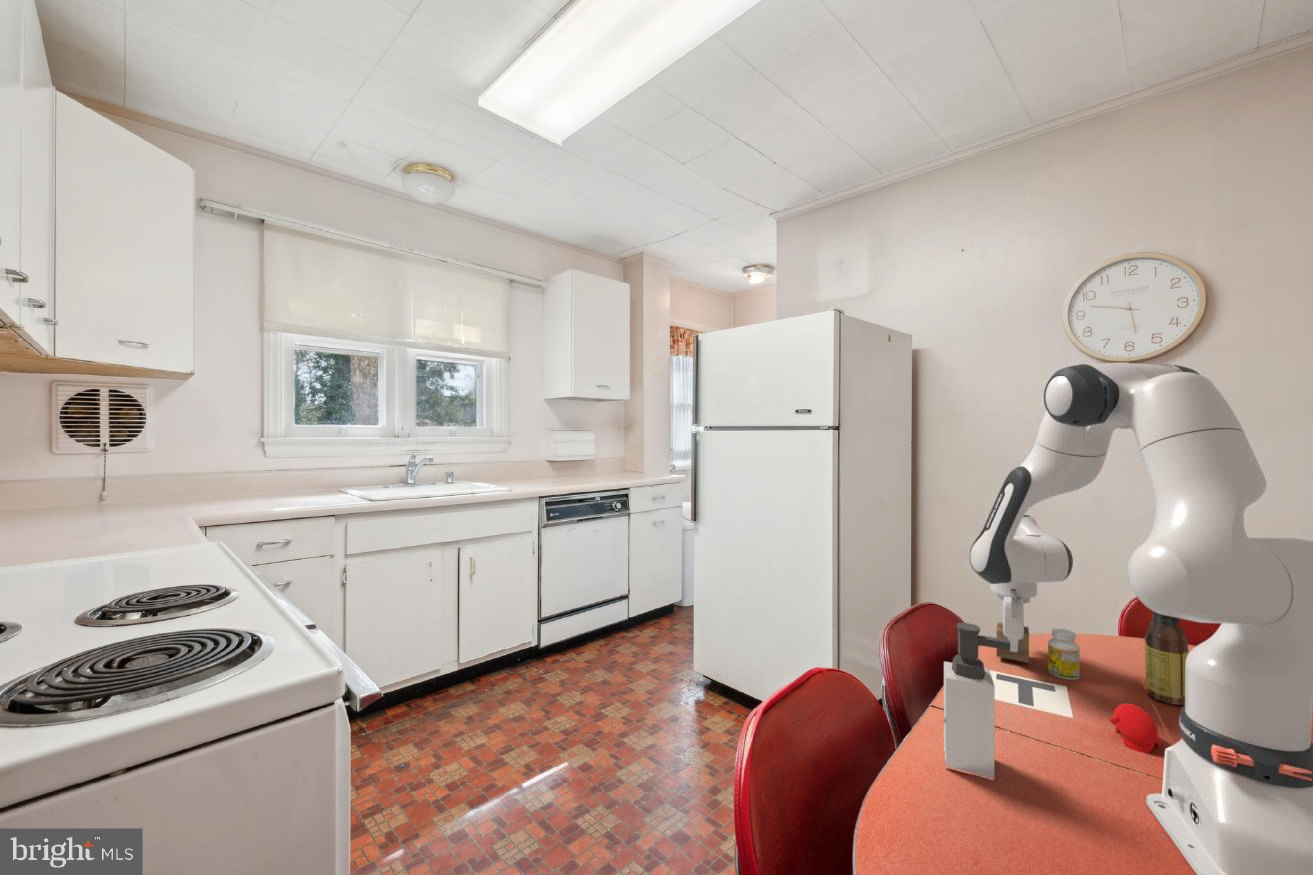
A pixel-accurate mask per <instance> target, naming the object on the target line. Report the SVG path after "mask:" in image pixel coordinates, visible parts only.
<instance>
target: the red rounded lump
mask: <svg viewBox="0 0 1313 875" xmlns="http://www.w3.org/2000/svg"><path fill="white" fill-rule="evenodd" d="M1109 721H1110V723H1111V724H1113V725H1114V726H1115V729H1114V730H1115V731H1114V732H1115V734H1121V735H1122V742H1123V744H1124V746H1125V747H1126V748H1128V749H1130V750H1133V751H1135V752H1140V753H1142V754H1149V753H1151V751H1152V750H1153V749H1154V747H1155V746H1162V745H1163V743H1164V741H1163V739H1162V738H1161V737H1160V734H1159V732H1158V727H1157V725H1156V722H1155V721H1154V719H1153V718H1152V716H1151V715H1150V714H1149V713H1148V712H1147V711H1146V710H1144V709H1143V708H1142V707H1140V706H1138V705H1135V704H1132V703H1122V704H1119V705H1118V706H1116V708H1115V709H1114V711H1113V716H1112V717H1110V718H1109Z"/></svg>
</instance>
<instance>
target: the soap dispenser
mask: <svg viewBox="0 0 1313 875" xmlns="http://www.w3.org/2000/svg"><path fill="white" fill-rule="evenodd" d="M956 629H957V653H958V654H956V655H955V656H954V657H953V658H952V662H950V661H943V750H944V751H945V755H944V763H946V766H948V767H953V768H955V769H960V770H964V771H967V772H971V773H973V774H978V775H979V776H985V777H987V778H992V779H994V780H995V734H996V733H995V729H996V728H995V727H996V726H995V715H996V714H995V713H996V712H995V711H996V710H995V707H996V706H995V703H996V702H995V701H996V700H995V686H994V683H993V680H992V676H991V673H990V670H991V669H990V668H986V667H985V665H984V662H983V661H982V660H981V659H980V658H979V657H980V656H979V655H980V654H979V646H981V647H987V648H993V649H997V648H999V649H1005V650H1010V641H1009V639H1001V638H997V637H993V636H992V637H991V636H986V635H979V634H980V632H981V628H980V627H979V625H977V624H973V623H969V622H968V623H967V622H958V623H957V624H956ZM944 751H943V752H944ZM946 766H945V767H946Z"/></svg>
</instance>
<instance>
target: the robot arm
mask: <svg viewBox="0 0 1313 875" xmlns="http://www.w3.org/2000/svg"><path fill="white" fill-rule="evenodd" d="M1043 403H1044V407H1045V409H1046V411H1045V413H1044V414H1043V418H1042V420H1041V422H1040V426H1039V428H1038V431H1037V434H1036V438H1035V442H1034V444H1033V447H1032V449H1031V451H1030V452H1029V453H1028V455H1027V457H1026V458H1025V459H1024V460H1023V461H1022V462H1021V464H1020V465H1018V466H1017V467H1016V468H1014V469H1012V470H1011V471H1010V472H1009V473H1008V474H1007V476H1006V478H1005V479H1004V481H1003V483H1002V485H1001V487H1000V489H999V492H998V493H997V496H996V499H995V500H994V503H993V506H992V507H991V509H990V512H989V514H988V516H987V519H986V521H985V524H984V525H983V528H982V530H981V531H980V532H979V534H978V536H977V537H976V538H975V540H974V541H973V543H972V545H971V548H970V549H969V550H970V551H969V562H970V566H971V568H972V569H973V571H974V572H975V573H976V574H977V575H978V576H979V577H980V578H981V579H983V580H984V581H986V582H987V583H989V584H990V590H991V591H992V592H994V593H996V598H998V599H999V600H1001V601H1002V607H1003V608H1002V623H1003V634H1004V636H1005V637H1008V639H1009V641H1010V650H1009V651H1012V652H1018V642H1019V639H1023V636H1024V626H1025V617H1024V616H1025V614H1024V612H1025V611H1024V610H1025V608H1024V606H1025V605H1024V604H1029V603H1030V602H1031V598H1035V597H1037V596H1038V583H1059V582H1063V581H1065V580H1066V579H1067V578H1069V576H1070V575H1071V572H1072V570H1073V565H1074V558H1073V554H1072V551H1071V550H1070V548H1069V547H1068V545H1066V543H1065V542H1063V541H1062V540H1061V539H1059V538H1057V537H1053V536H1051V535H1050V534H1048V533H1047V532H1046V531H1044V530H1043V529H1041V527H1039V526H1038V524H1037V522H1036V519H1035V518H1034V517H1033V516H1030V515H1029V514H1026V513H1027V511H1029V509H1030V508H1032V507H1033V506H1035V505H1036V504H1038V503H1040V502H1042V501H1045V500H1048V499H1050V498H1052V497H1056V496H1059V495H1064V494H1066V493H1071V492H1074V491H1078V490H1080V489H1082V488H1085V487H1086V486H1088V485H1090V484H1092V482H1094V481H1095V480H1096V479H1097V477H1098V475H1099V474H1100V472H1101V471H1102V470H1103V467H1104V464H1105V460H1106V457H1107V453H1108V450H1109V448H1110V443H1111V440H1112V439H1111V438H1112V436H1113V433H1114V431H1115V430H1116V429H1121V430H1122V429H1132V432H1133V433H1134V434H1133V435H1134V436H1135V439H1136V442H1137V446H1138V448H1139V451H1140V456H1141V457H1142V460H1143V463H1144V466H1145V469H1146V473H1147V475H1148V479H1149V481H1150V485H1151V488H1152V491H1153V495H1154V503H1155V514H1154V516H1155V517H1154V522H1153V526H1152V529H1151V531H1150V533H1149V535H1148V537H1147V538H1146V539H1145V540H1144V541H1143V543H1141V544H1140V545H1139V546H1138V547H1136V549H1135V550H1134V551H1133V552H1132V554H1131V555H1130V557H1129V560H1128V564H1127V568H1126V569H1127V571H1126V573H1127V579H1128V583H1129V586H1130V588H1131V589H1132V592H1133V593H1134V594H1135V596H1136V598H1137V599H1138V600H1139V601H1140V602H1141V603H1142V604H1143V605H1144V606H1145V607H1146V608H1147V609H1149V610H1151V611H1152V612H1153V611H1154V612H1156V613H1158V614H1162V615H1166V616H1170V617H1175V618H1179V620H1180V619H1181V620H1185V621H1190V622H1195V623H1201V624H1220V625H1219V627H1218V629H1217V630H1216V631H1215V632H1214V633H1213V635H1211V636H1210V637H1209V638H1207V639H1206V640H1204V641H1203V642H1201V643H1199V644H1197V645H1196V646H1194V647H1193V648H1192V649H1191V650H1189V654H1188V655H1187V658H1186V661H1185V705H1183V707H1182V708H1181V709H1180V715H1179V719H1178V725H1179V735H1180V739H1179V740H1178V741H1177V742H1176V743H1174V744H1173V745H1171V746H1169V747H1167V748H1165V750H1164V760H1163V762H1164V763H1163V774H1162V789H1161V793H1149V794H1147V796H1146V799H1145V800H1146V801H1145V804H1146V805H1147V807H1148V809H1150V811H1151V812H1152V814H1153V815H1154V816H1155V818H1156V819H1157V820H1158V822H1159V824H1160V826H1162V827H1163V829H1164V831H1165V832H1166V834H1168V837H1169V838H1170V839H1171V840H1172V841H1173V843H1174V845H1175V846H1176V847H1177V849H1178V850H1179V852H1180V853H1181V854H1182V856H1183V857H1184V858H1185V860H1186V861H1187V863H1188V864H1189V865H1190V867H1191V869H1192V870H1193V871H1194V872H1195V874H1196V875H1313V741H1312V723H1313V722H1312V719H1313V718H1312V717H1313V540H1307V539H1300V538H1292V537H1291V538H1290V537H1289V538H1287V537H1282V538H1281V537H1279V538H1278V537H1277V538H1276V537H1269V538H1268V537H1249V536H1248V534H1247V532H1246V528H1245V523H1244V522H1245V518H1244V515H1245V510H1246V508H1248V507H1249V506H1251V505H1252V504H1253V503H1255V502H1257V501H1258V500H1259V499H1260V498H1262V496H1263V495H1264V494H1265V492H1266V489H1267V480H1266V477H1265V475H1264V472H1263V470H1262V468H1261V466H1260V463H1259V461H1258V458H1257V457H1256V455H1255V453H1254V451H1253V448H1252V446H1251V444H1250V442H1249V440H1248V437H1247V434H1246V432H1245V431H1244V429H1243V427H1242V424H1241V422H1240V421H1239V419H1238V417H1237V416H1236V413H1235V411H1233V409H1232V408H1231V406H1230V404H1229V403H1228V402H1227V399H1226V398H1225V397H1224V396H1223V394H1222V393H1221V392H1220V391H1219V389H1218V388H1217V387H1216V385H1215V384H1214V383H1213V382H1212V381H1211V380H1210V379H1209V378H1207V377H1206V376H1204V375H1202V374H1200V373H1199V372H1198V371H1196V370H1195V369H1192V368H1190V367H1186V366H1183V365H1177V364H1171V363H1162V364H1152V363H1136V362H1135V363H1130V362H1108V363H1107V362H1105V363H1097V364H1086V363H1082V364H1076V365H1070V366H1067V367H1063V368H1061V369H1058V370H1056V371H1055V372H1054V373H1053V374H1052V375H1051V376H1050V378H1049V379H1048V381H1047V383H1046V385H1045V387H1044V391H1043Z"/></svg>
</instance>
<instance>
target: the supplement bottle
mask: <svg viewBox="0 0 1313 875" xmlns="http://www.w3.org/2000/svg"><path fill="white" fill-rule="evenodd" d="M1051 636H1052V637H1051V638H1050V639H1048V641H1047V642H1048V643H1047V651H1048V652H1047V654H1048V657H1047V658H1048V660H1047V661H1048V662H1047V663H1048V664H1047V666H1048V667H1047V669H1048V670H1047V671H1048V673H1050V674H1051V675H1053V676H1056V677H1058V678H1061V679H1066V680H1078V679H1080V677H1081V676H1080V675H1081V674H1080V672H1081V671H1080V670H1081V669H1080V668H1081V667H1080V665H1081V664H1080V663H1081V660H1080V659H1081V658H1080V654H1081V653H1080V652H1081V651H1080V645H1079V644H1078V643H1077V642H1075V641H1076V638H1077V637H1076V633H1075V632H1074V631H1072V630H1068V629H1064V628H1052V630H1051Z"/></svg>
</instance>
